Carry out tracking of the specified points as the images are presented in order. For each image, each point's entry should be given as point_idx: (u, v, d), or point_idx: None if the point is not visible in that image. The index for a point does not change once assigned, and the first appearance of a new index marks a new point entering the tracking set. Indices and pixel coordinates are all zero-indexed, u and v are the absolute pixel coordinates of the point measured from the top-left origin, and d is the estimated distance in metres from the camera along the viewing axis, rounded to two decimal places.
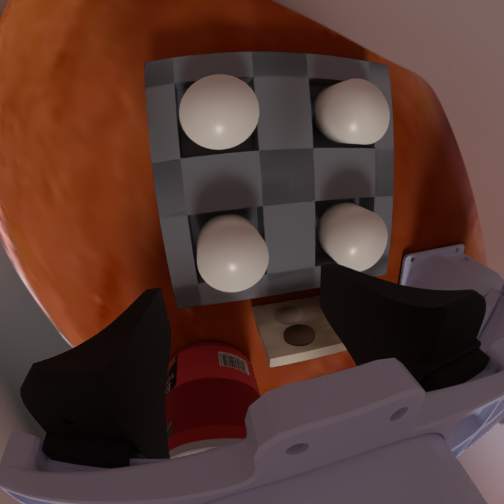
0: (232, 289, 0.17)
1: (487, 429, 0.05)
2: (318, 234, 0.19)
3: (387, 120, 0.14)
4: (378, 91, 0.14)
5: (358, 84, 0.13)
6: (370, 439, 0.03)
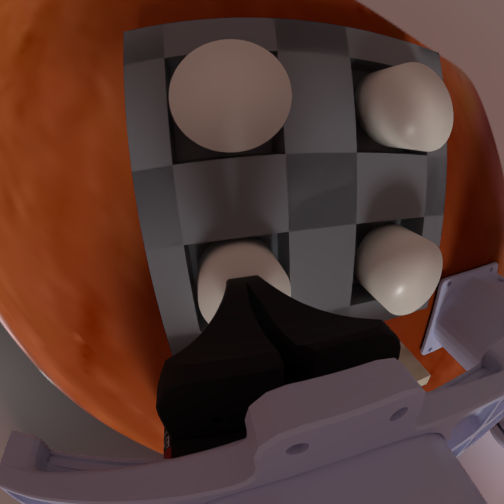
0: None
1: (487, 429, 0.05)
2: (358, 266, 0.14)
3: (450, 121, 0.10)
4: (440, 82, 0.09)
5: (419, 70, 0.09)
6: (370, 439, 0.03)
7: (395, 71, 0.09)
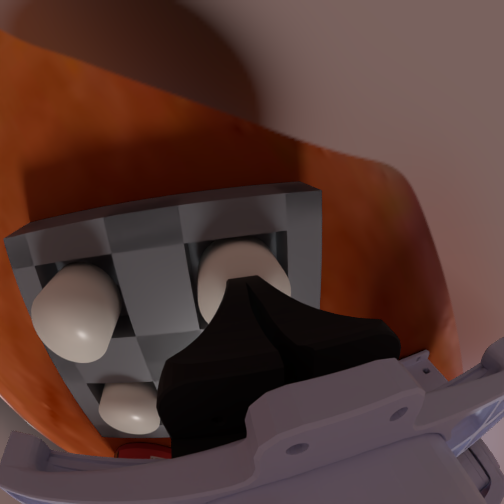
0: (135, 432, 0.15)
1: (487, 429, 0.05)
2: None
3: None
4: (273, 265, 0.12)
5: (239, 264, 0.12)
6: (370, 439, 0.03)
7: (206, 276, 0.12)
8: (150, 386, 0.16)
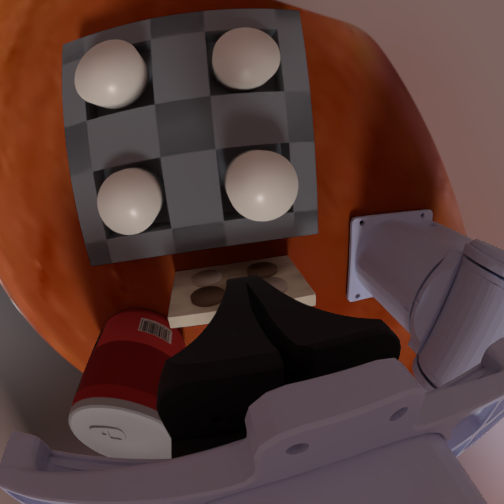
0: (129, 232, 0.17)
1: (487, 429, 0.05)
2: (224, 184, 0.18)
3: (277, 60, 0.14)
4: (266, 35, 0.14)
5: (242, 32, 0.13)
6: (370, 439, 0.03)
7: (219, 38, 0.13)
8: (155, 177, 0.17)
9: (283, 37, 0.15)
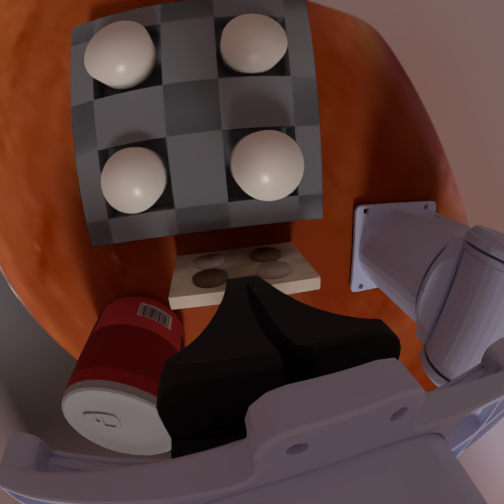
0: (132, 210, 0.16)
1: (487, 429, 0.05)
2: (229, 165, 0.17)
3: (284, 46, 0.14)
4: (273, 22, 0.13)
5: (251, 18, 0.13)
6: (370, 439, 0.03)
7: (228, 23, 0.13)
8: (160, 157, 0.17)
9: (290, 25, 0.14)
